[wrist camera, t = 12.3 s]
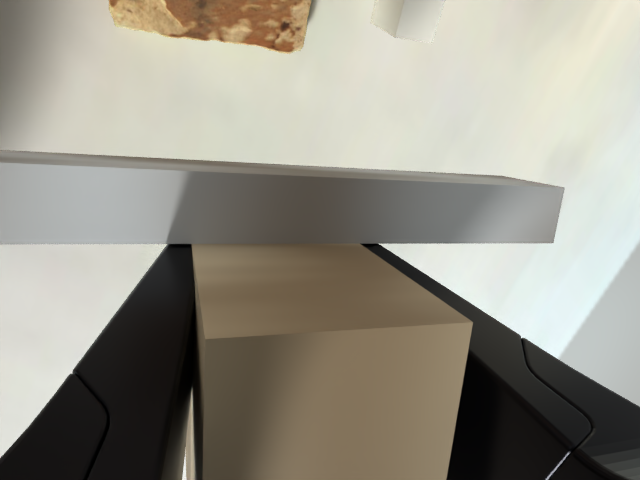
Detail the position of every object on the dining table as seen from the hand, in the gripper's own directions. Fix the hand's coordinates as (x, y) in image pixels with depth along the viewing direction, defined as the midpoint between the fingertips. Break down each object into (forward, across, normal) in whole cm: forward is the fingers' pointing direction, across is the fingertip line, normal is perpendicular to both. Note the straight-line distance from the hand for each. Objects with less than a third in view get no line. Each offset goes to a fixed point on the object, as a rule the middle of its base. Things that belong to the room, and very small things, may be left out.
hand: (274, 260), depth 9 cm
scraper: (+1, 0, +3) cm, 3 cm away
